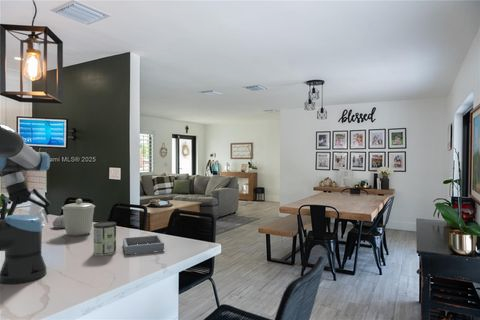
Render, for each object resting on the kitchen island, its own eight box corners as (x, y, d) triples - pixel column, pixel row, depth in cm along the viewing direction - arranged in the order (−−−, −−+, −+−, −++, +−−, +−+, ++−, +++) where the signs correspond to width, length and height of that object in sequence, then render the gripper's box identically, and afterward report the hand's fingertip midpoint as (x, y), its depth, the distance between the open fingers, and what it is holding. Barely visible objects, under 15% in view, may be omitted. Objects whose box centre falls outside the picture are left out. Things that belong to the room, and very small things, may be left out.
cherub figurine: (40, 224, 219) (41, 192, 220) (53, 226, 215) (54, 193, 215) (22, 228, 208) (23, 193, 208) (36, 229, 203) (37, 194, 204)
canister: (101, 232, 198) (102, 198, 198) (75, 238, 182) (76, 201, 182) (81, 229, 206) (81, 196, 206) (54, 235, 190) (54, 199, 190)
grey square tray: (164, 251, 160) (164, 243, 160) (125, 255, 153) (125, 246, 153) (158, 242, 176) (158, 235, 176) (123, 245, 169) (123, 237, 169)
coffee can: (102, 248, 163) (103, 221, 163) (120, 250, 160) (120, 222, 160) (88, 254, 153) (88, 224, 153) (106, 256, 150) (106, 226, 150)
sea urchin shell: (74, 228, 209) (74, 216, 209) (50, 229, 204) (50, 217, 204) (76, 224, 222) (76, 212, 222) (54, 225, 217) (54, 213, 217)
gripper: (47, 174, 151) (63, 216, 152) (-13, 193, 143) (4, 238, 144) (43, 173, 144) (60, 218, 145) (-21, 193, 136) (-3, 240, 137)
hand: (32, 228), depth 144 cm, fingers open, 13 cm apart
